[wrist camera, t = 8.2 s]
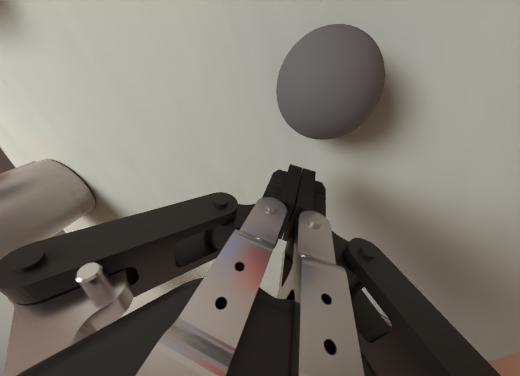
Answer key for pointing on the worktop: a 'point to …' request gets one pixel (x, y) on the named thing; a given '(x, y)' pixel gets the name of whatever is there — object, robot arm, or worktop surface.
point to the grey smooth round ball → (330, 81)
